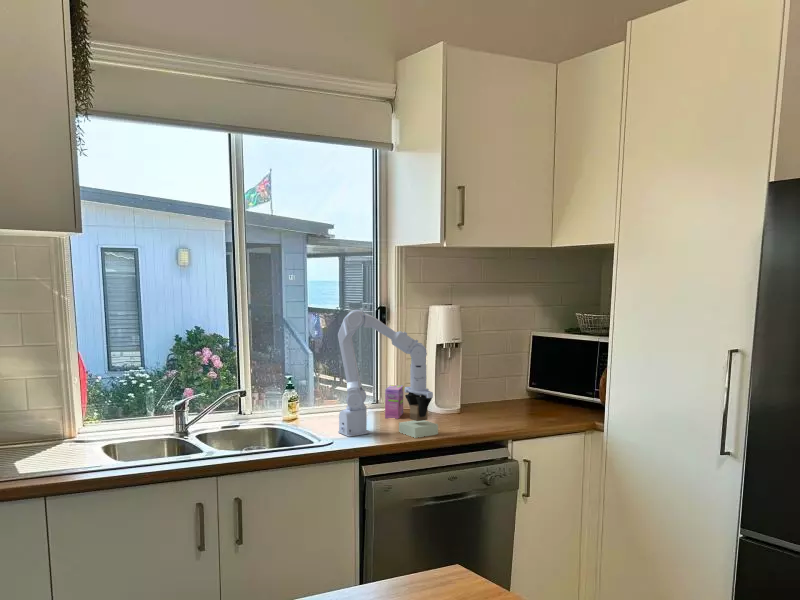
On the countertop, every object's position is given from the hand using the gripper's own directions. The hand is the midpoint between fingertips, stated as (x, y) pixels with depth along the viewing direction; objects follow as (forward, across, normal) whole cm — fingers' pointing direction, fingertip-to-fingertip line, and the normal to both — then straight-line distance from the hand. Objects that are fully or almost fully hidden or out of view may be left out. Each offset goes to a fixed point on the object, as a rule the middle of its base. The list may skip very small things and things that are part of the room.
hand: (418, 415), depth 214 cm
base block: (+6, 0, 0) cm, 6 cm away
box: (+7, +29, -9) cm, 31 cm away
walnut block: (+2, 0, 0) cm, 2 cm away
